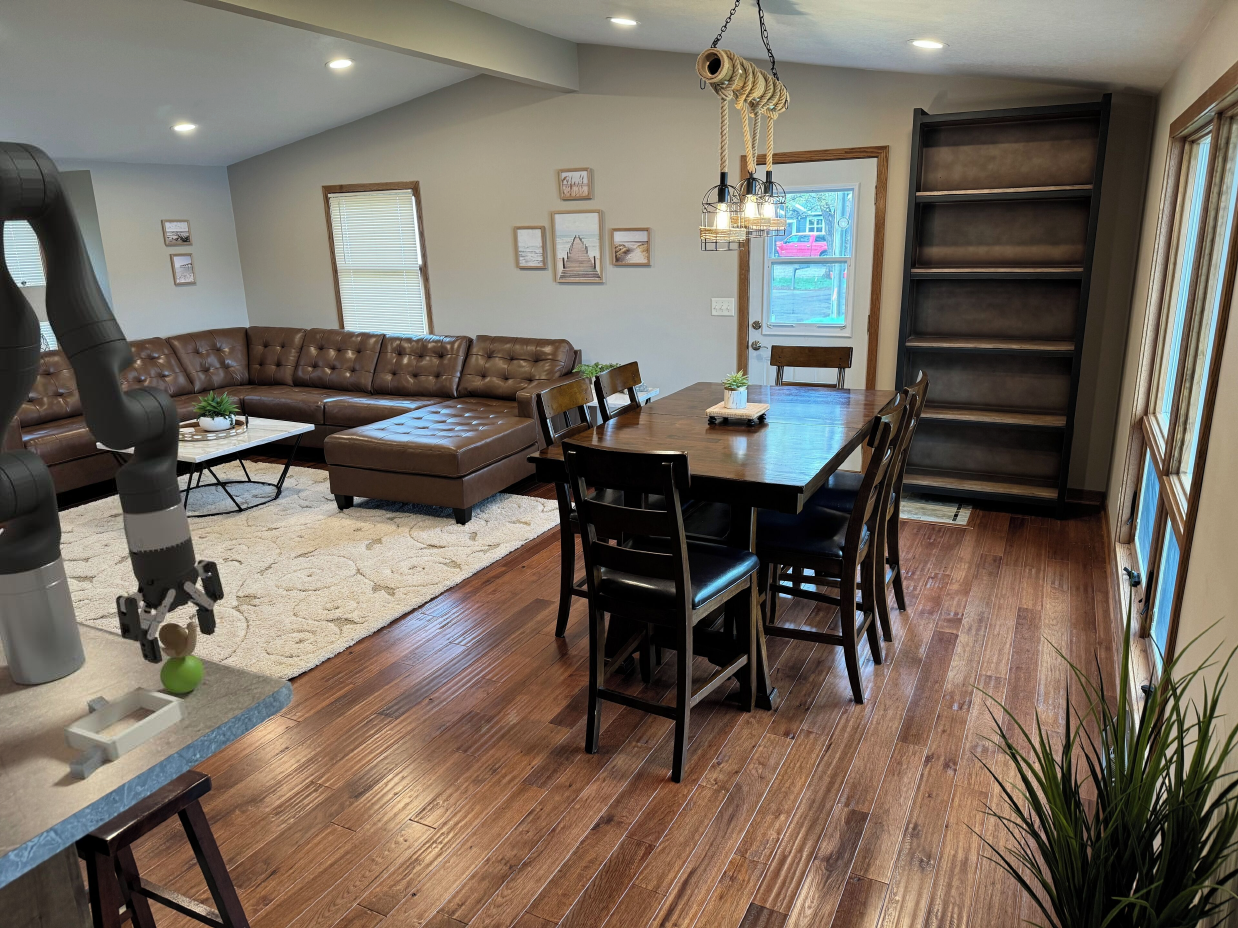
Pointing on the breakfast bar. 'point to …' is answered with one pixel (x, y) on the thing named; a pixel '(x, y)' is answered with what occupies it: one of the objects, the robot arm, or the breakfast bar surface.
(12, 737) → the breakfast bar surface
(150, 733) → the white rectangular frame piece
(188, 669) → the snail figurine
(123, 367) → the robot arm
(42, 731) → the breakfast bar surface
